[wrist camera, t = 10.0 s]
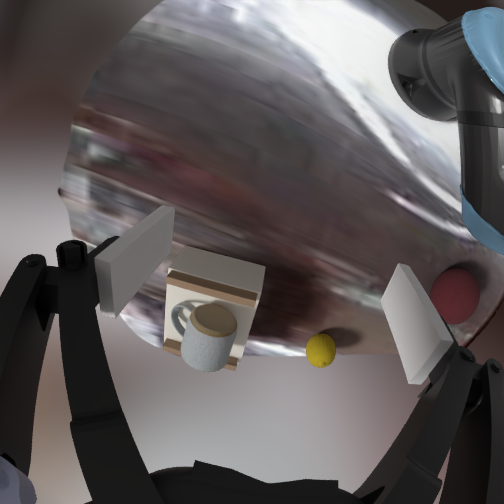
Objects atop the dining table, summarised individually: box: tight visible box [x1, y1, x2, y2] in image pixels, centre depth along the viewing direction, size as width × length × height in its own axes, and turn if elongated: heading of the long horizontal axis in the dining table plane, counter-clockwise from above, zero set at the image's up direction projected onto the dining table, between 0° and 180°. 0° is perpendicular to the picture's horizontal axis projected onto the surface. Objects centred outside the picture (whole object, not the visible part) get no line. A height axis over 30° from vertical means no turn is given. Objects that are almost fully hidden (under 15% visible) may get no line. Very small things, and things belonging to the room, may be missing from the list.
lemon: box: [306, 333, 336, 368], centre depth 50 cm, size 6×6×8 cm
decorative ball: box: [430, 268, 480, 324], centre depth 41 cm, size 10×10×10 cm
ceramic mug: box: [171, 302, 237, 372], centre depth 41 cm, size 11×8×8 cm
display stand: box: [163, 246, 266, 371], centre depth 47 cm, size 14×16×10 cm
